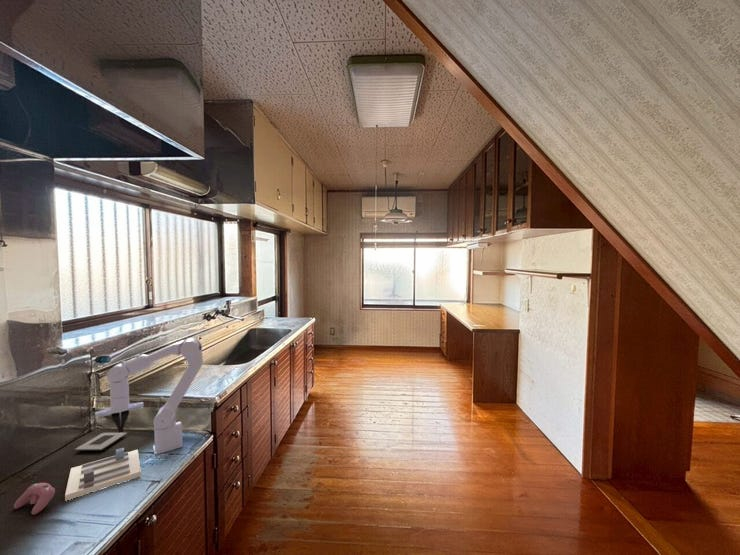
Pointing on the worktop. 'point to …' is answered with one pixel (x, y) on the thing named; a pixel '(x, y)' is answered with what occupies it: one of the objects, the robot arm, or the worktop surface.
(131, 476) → the switch panel
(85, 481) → the charcoal tab
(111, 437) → the electrical outlet
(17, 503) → the video game controller
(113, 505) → the worktop surface
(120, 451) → the slate tab
